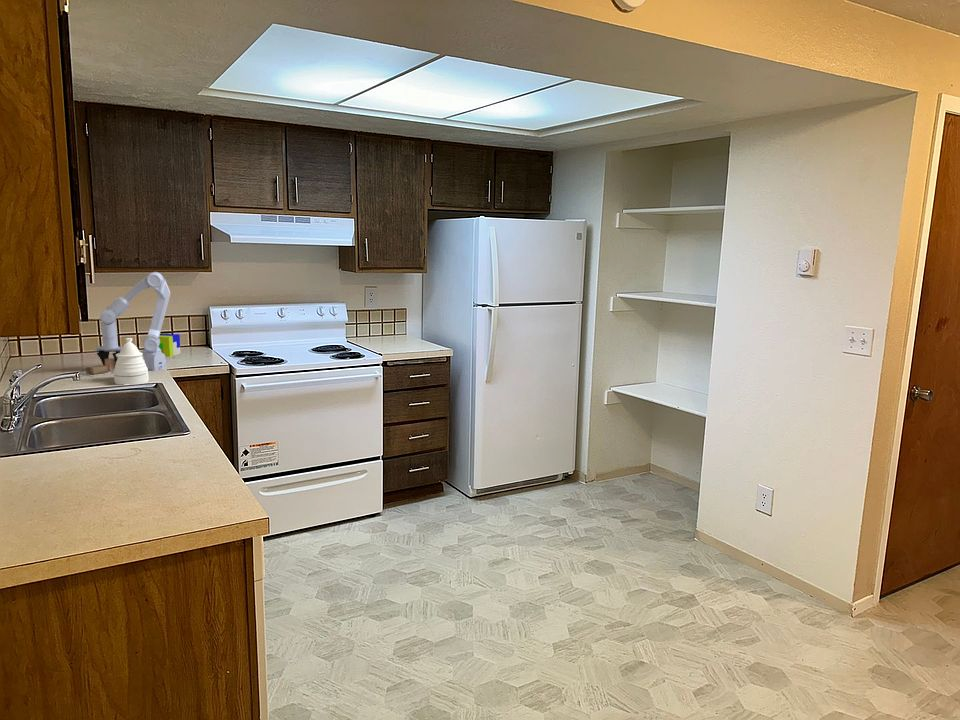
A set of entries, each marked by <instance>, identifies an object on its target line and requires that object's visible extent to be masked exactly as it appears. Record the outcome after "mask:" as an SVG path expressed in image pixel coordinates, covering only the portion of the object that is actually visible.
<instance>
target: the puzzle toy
mask: <svg viewBox="0 0 960 720" xmlns="http://www.w3.org/2000/svg"><path fill="white" fill-rule="evenodd" d="M180 336H181V335H180V334H178V333H176V334H175V333H160V336H159V339H160V344H159V346H158V347H159V348H160V349H161V352H162V353H163V354H164V355H165V356H166V357H169V358H170V357H173V356H176V355H180V354H181V341H180V340H181V338H180Z"/></svg>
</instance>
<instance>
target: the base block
mask: <svg viewBox="0 0 960 720" xmlns="http://www.w3.org/2000/svg"><path fill="white" fill-rule="evenodd" d="M85 372H86V374H90V375H99V374H105V373H108V370H107V366H103V364H96V365H94V364H93V365H87V366H85Z"/></svg>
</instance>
